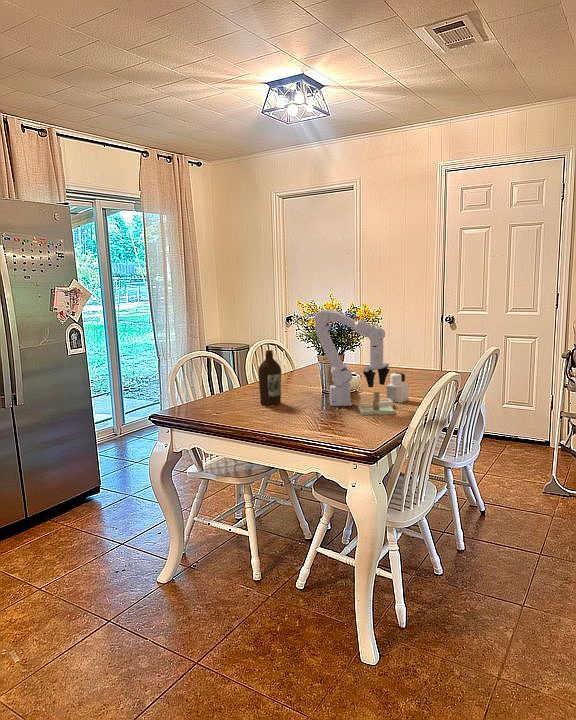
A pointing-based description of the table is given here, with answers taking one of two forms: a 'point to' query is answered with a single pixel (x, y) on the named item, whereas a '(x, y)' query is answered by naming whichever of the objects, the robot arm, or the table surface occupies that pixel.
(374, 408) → the dowel
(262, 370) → the olive oil
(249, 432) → the table surface
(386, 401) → the square block with hole
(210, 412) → the table surface
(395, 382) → the container
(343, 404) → the robot arm
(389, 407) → the tray
